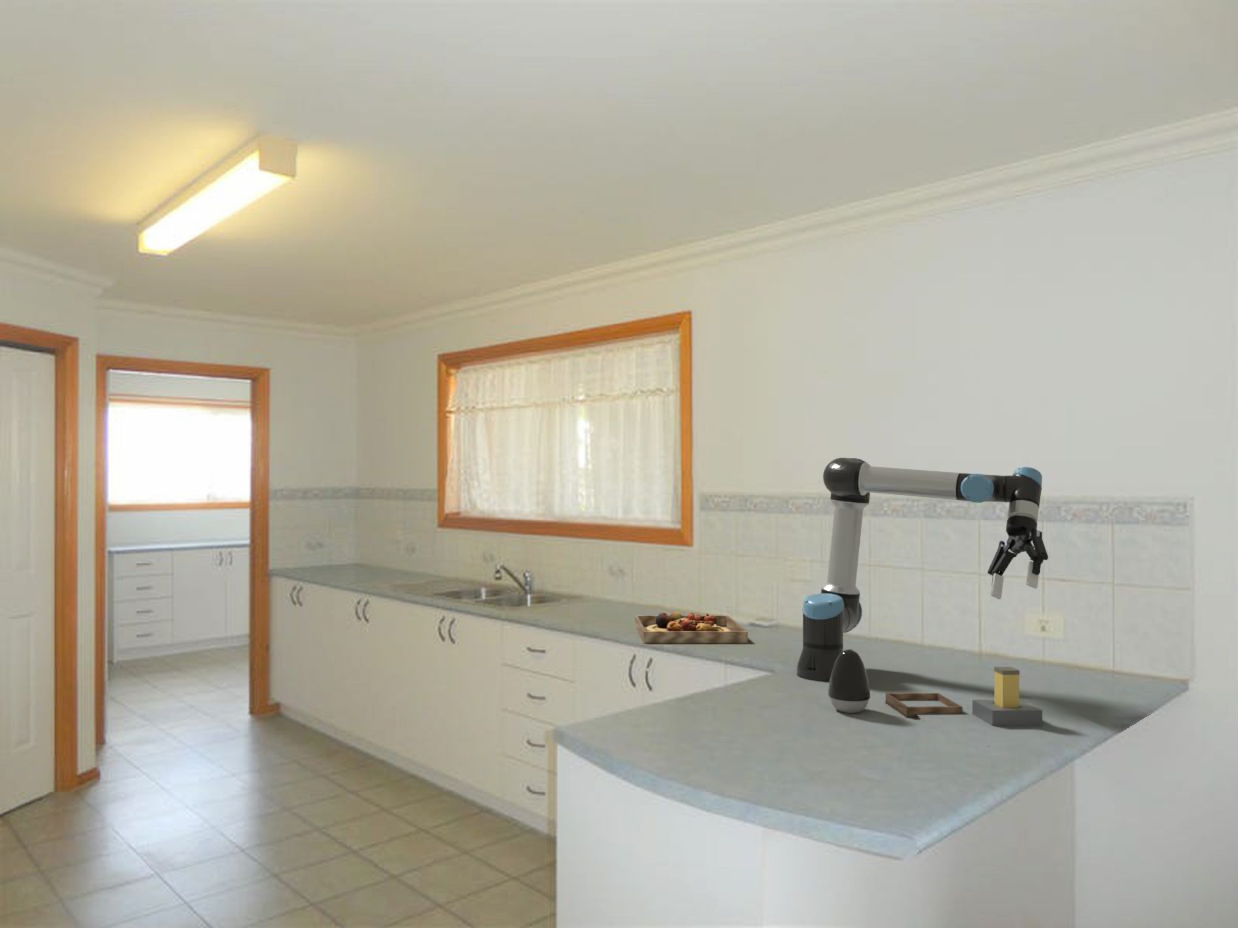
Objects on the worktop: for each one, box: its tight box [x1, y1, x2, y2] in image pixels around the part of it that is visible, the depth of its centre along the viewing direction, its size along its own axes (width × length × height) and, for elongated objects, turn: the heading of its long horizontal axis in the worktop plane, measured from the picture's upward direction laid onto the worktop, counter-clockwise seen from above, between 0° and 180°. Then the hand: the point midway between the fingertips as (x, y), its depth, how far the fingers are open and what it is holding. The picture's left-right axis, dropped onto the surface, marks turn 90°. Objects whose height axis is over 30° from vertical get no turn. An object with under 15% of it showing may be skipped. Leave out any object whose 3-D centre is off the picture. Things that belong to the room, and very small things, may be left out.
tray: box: [885, 692, 964, 718], centre depth 221 cm, size 14×14×2 cm
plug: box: [993, 666, 1020, 708], centre depth 209 cm, size 4×4×12 cm
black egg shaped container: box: [827, 649, 871, 714], centre depth 220 cm, size 10×10×15 cm
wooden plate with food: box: [645, 610, 731, 631], centre depth 327 cm, size 32×32×8 cm
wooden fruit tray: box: [634, 614, 749, 644], centre depth 327 cm, size 37×37×4 cm
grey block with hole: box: [971, 699, 1043, 727], centre depth 209 cm, size 12×10×4 cm
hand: (1013, 592), depth 230 cm, fingers open, 13 cm apart
